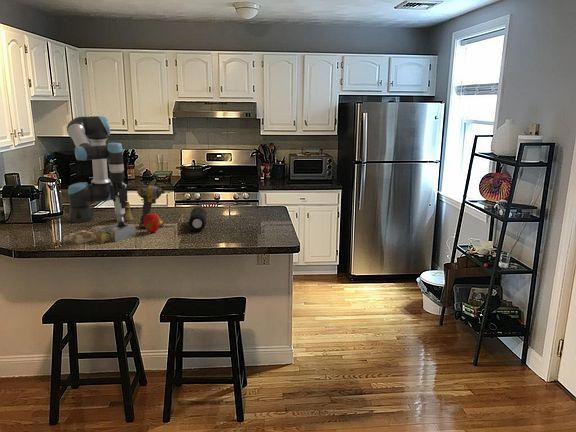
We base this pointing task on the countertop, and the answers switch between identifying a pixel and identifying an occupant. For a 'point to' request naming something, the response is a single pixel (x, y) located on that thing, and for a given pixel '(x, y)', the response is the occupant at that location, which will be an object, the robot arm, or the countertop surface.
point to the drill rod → (119, 216)
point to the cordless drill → (149, 200)
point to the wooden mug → (127, 212)
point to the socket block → (120, 231)
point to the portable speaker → (197, 219)
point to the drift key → (103, 237)
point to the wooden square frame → (81, 236)
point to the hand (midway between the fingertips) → (120, 213)
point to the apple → (151, 222)
